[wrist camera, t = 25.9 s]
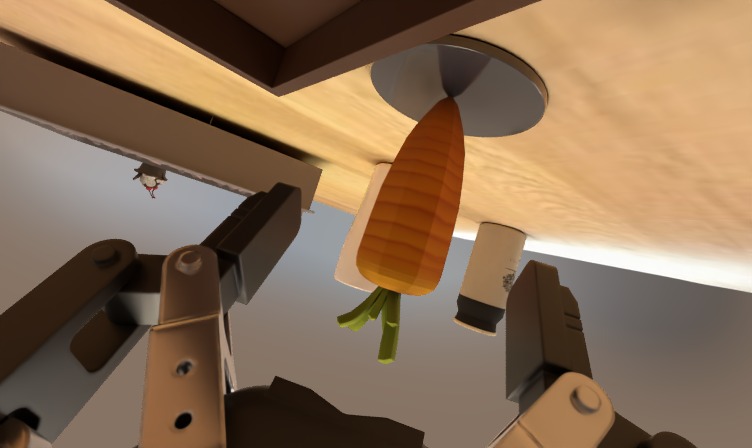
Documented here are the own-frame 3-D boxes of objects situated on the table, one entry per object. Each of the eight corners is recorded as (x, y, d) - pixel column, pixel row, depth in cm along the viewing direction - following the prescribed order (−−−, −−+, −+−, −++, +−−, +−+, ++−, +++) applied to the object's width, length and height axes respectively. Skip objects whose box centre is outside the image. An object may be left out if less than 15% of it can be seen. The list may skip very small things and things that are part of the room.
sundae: (187, 144, 85) (165, 201, 84) (160, 135, 85) (139, 193, 84) (171, 135, 79) (148, 198, 78) (143, 126, 79) (120, 189, 78)
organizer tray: (-31, 13, 35) (-69, 104, 34) (332, 162, 51) (310, 226, 50) (86, 97, 64) (66, 148, 64) (293, 175, 80) (279, 216, 80)
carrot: (422, 113, 23) (353, 330, 22) (397, 69, 19) (308, 339, 18) (498, 122, 21) (425, 363, 20) (490, 75, 17) (395, 383, 16)
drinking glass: (393, 158, 38) (351, 288, 37) (433, 180, 42) (396, 298, 41) (360, 159, 44) (322, 273, 43) (398, 178, 48) (365, 283, 47)
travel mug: (485, 227, 67) (457, 318, 66) (476, 218, 60) (445, 319, 59) (528, 238, 63) (500, 335, 62) (524, 230, 56) (493, 338, 55)
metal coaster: (480, 3, 13) (476, 15, 13) (578, 124, 19) (575, 132, 19) (340, 62, 21) (338, 69, 21) (442, 134, 27) (440, 140, 27)
